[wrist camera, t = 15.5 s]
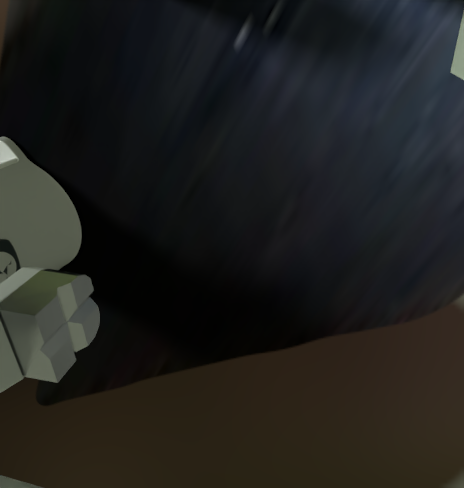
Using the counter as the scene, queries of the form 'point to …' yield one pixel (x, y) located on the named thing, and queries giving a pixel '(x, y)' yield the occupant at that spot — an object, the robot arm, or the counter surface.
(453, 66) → the notch board
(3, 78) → the counter surface
